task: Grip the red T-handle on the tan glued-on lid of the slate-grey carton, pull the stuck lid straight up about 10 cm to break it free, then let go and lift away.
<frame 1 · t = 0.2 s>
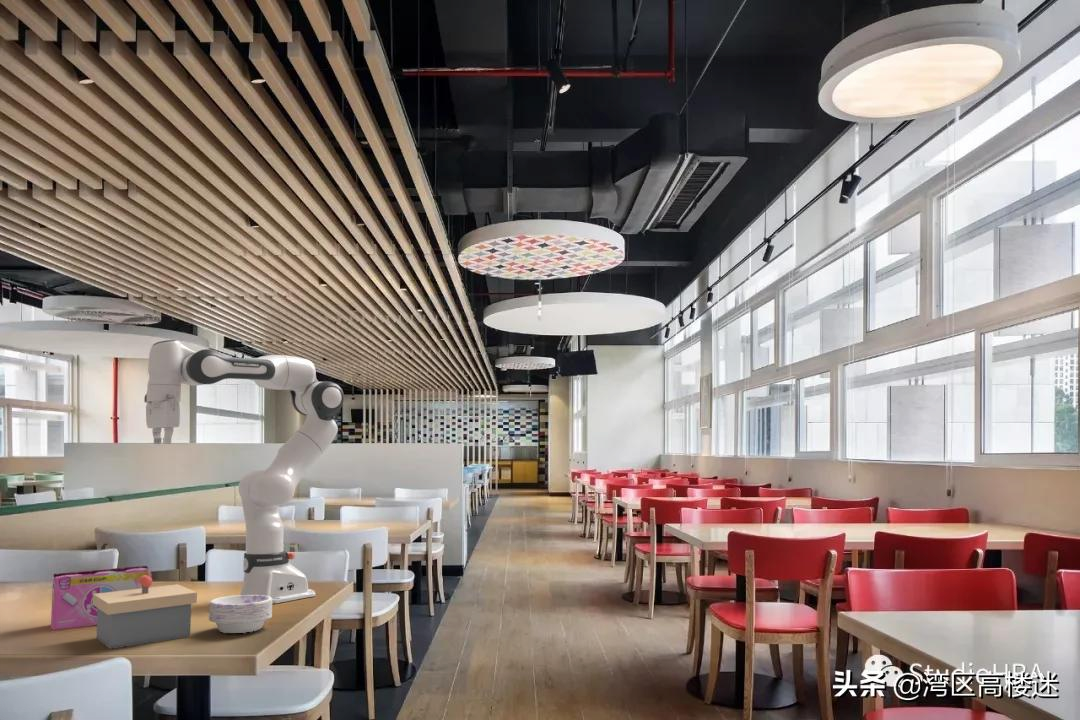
hand: (162, 444, 232), 48 cm above the table, fingers open, 8 cm apart
gum box: (99, 623, 219), on the table
lid: (145, 589, 202), point 12 cm above the table, slide at 0.0 cm
carton: (143, 637, 201), on the table
paper bowls: (240, 631, 208), on the table
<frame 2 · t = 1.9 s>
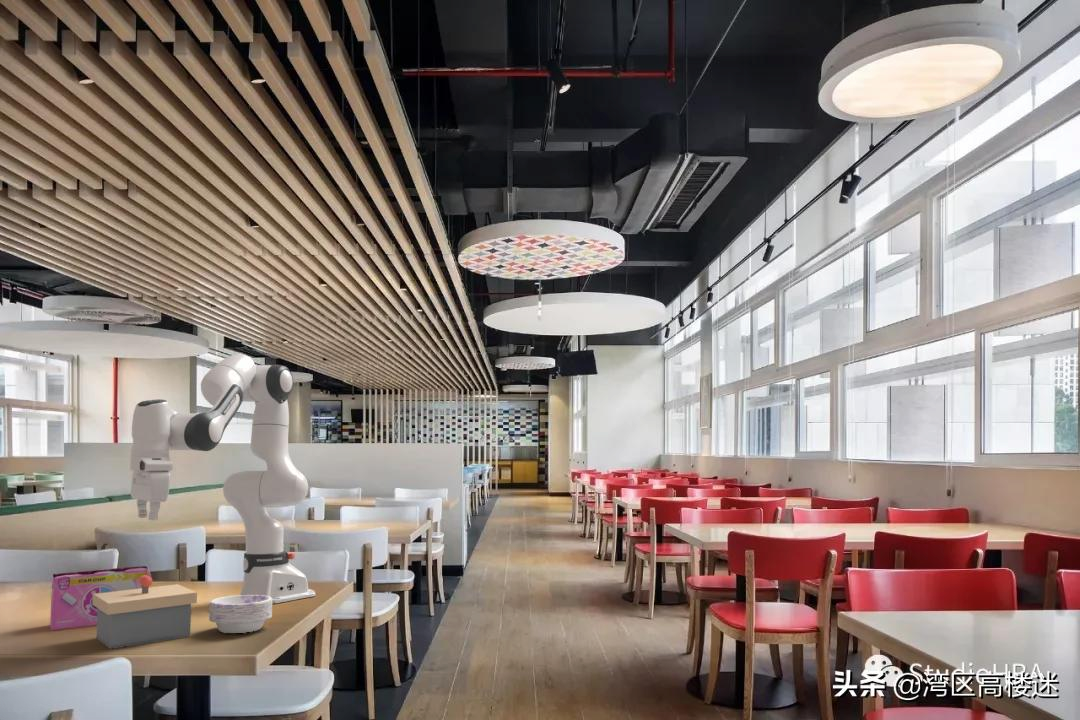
hand: (147, 518, 204), 29 cm above the table, fingers open, 8 cm apart
nothing on the table moved.
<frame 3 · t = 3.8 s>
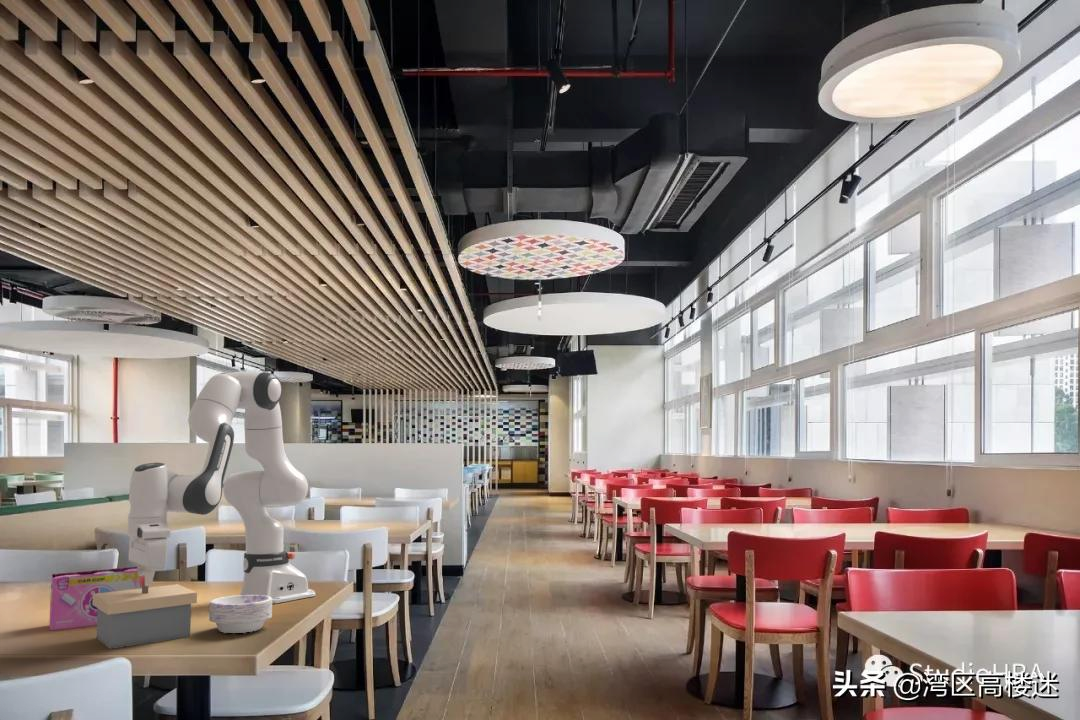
hand: (145, 584, 202), 13 cm above the table, fingers closed on lid, 3 cm apart
lid: (145, 589, 202), point 11 cm above the table, slide at 0.0 cm, touching gripper
everything else where it was.
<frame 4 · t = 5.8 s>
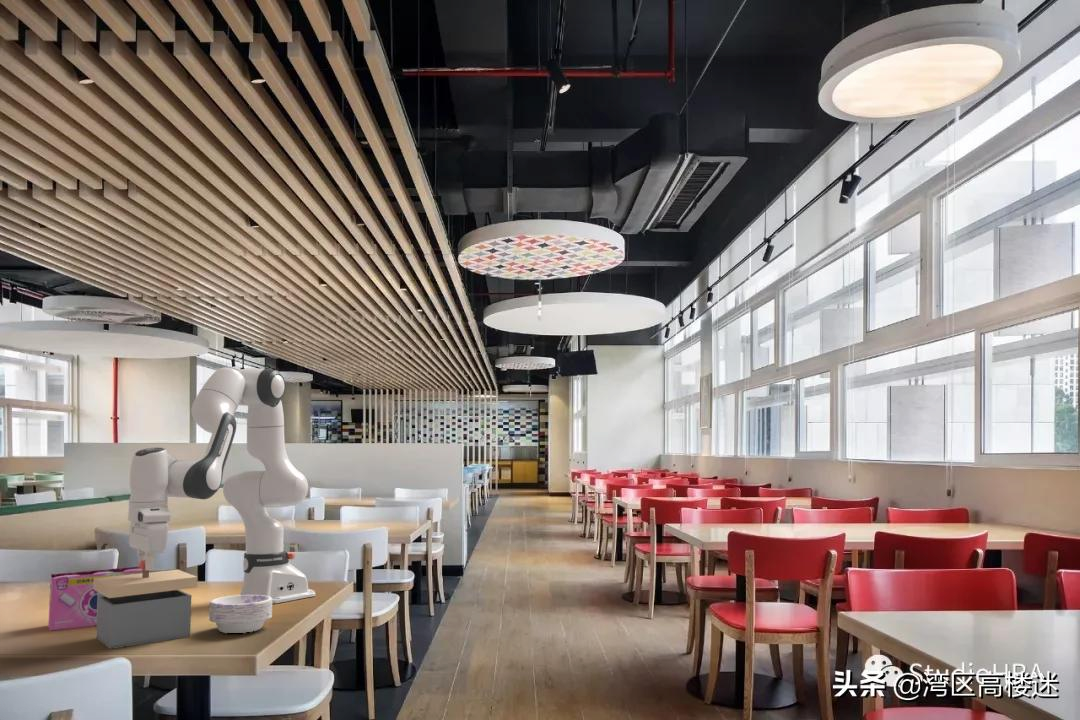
hand: (146, 568, 203), 17 cm above the table, fingers closed on lid, 3 cm apart
lid: (145, 574, 203), point 15 cm above the table, slide at 3.8 cm, touching gripper
everything else where it was.
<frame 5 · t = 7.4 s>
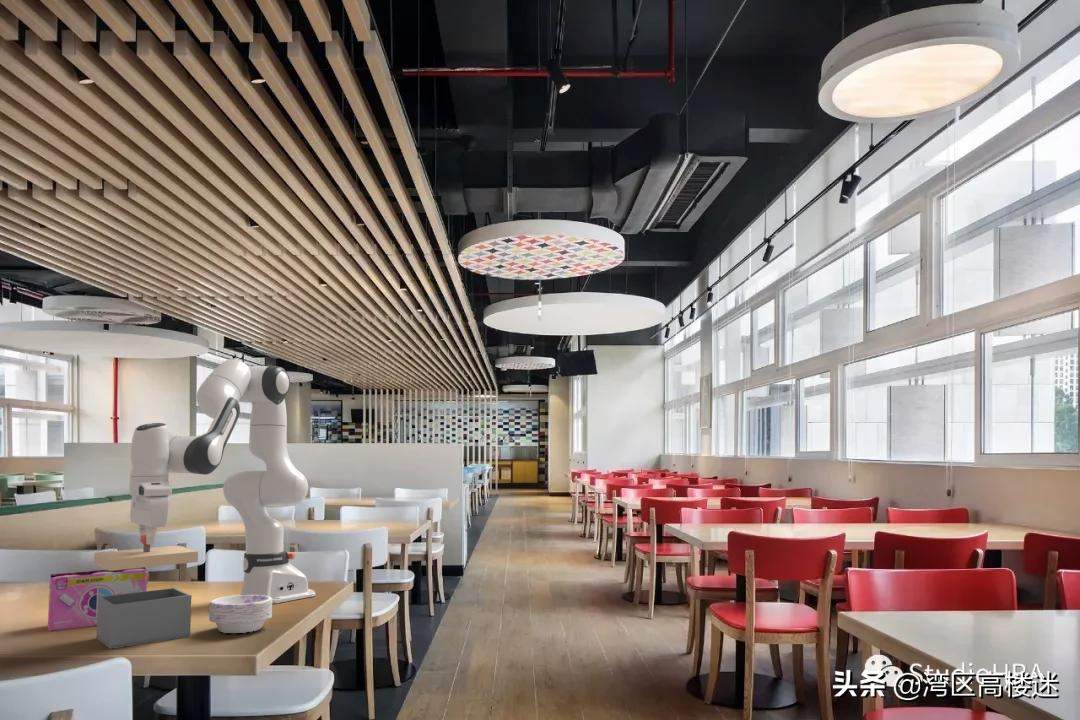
hand: (147, 543, 203), 23 cm above the table, fingers closed on lid, 3 cm apart
lid: (146, 548, 203), point 22 cm above the table, slide at 10.1 cm, touching gripper
everything else where it was.
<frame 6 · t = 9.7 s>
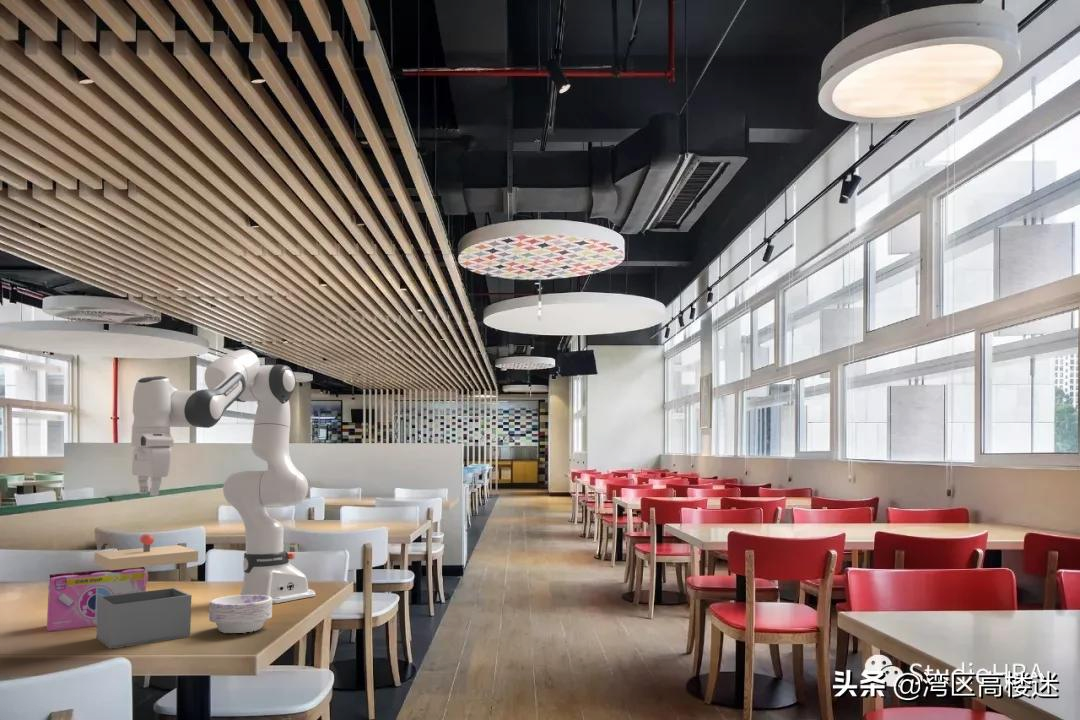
hand: (148, 494, 205), 35 cm above the table, fingers open, 8 cm apart
lid: (146, 548, 203), point 22 cm above the table, slide at 10.2 cm
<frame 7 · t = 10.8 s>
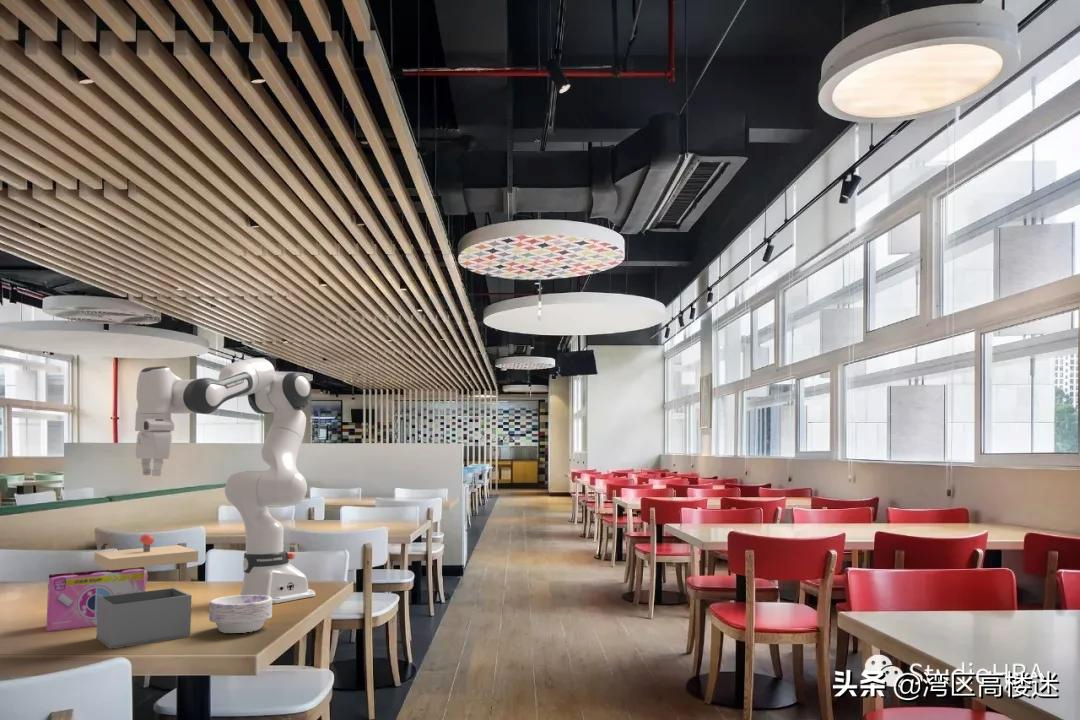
hand: (151, 475, 221), 39 cm above the table, fingers open, 8 cm apart
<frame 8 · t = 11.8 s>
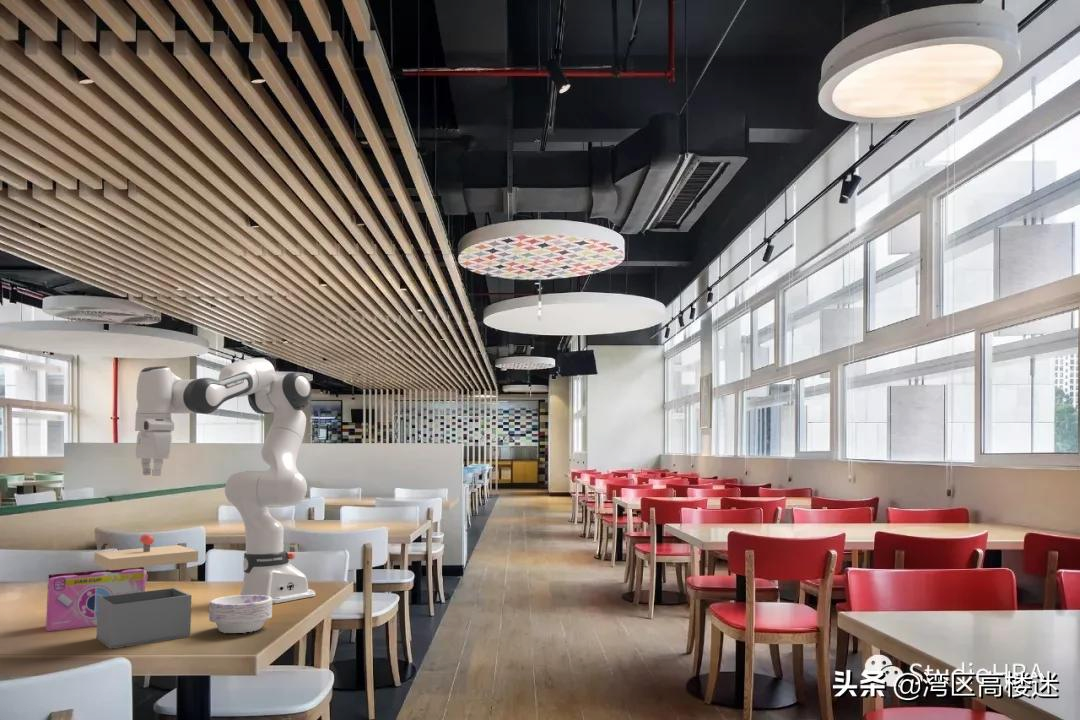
hand: (151, 475, 221), 39 cm above the table, fingers open, 8 cm apart
at the end: lid slide at 10.2 cm; the gripper is holding nothing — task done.
